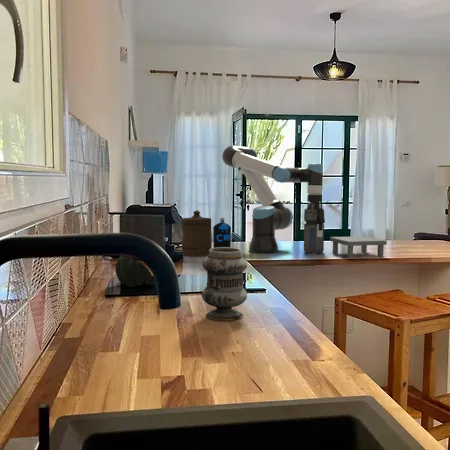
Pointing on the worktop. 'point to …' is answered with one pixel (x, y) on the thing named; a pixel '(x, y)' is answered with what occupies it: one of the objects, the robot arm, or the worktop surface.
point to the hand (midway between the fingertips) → (314, 235)
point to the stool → (358, 244)
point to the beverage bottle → (312, 232)
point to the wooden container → (196, 235)
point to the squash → (132, 272)
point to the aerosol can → (221, 235)
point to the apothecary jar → (224, 283)
